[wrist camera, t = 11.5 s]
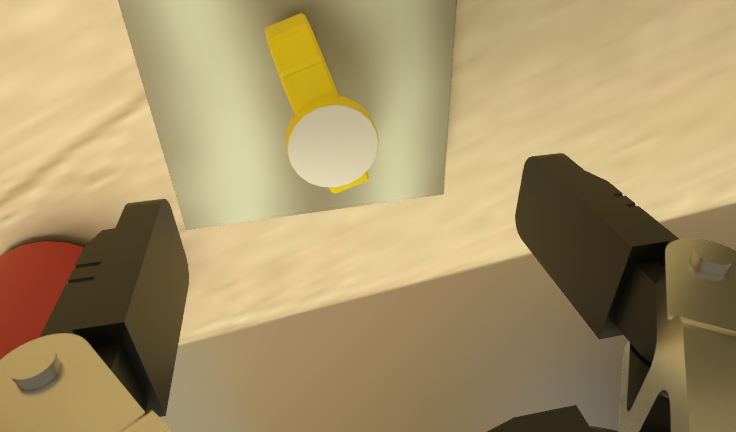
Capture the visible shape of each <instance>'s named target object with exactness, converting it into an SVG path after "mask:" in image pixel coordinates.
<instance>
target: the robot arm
mask: <svg viewBox="0 0 736 432" xmlns="http://www.w3.org/2000/svg"><path fill="white" fill-rule="evenodd" d="M515 220H516V227H517V231H518V234H519V236H520V238H521V239H522V241H523V242H524V243H525V244H526V246H527V247H528V248H529V250H530V251H531V252H532V253H533V255H534V256H535V257H536V258H537V260H538V261H539V262H540V264H541V265H542V266H543V268H544V269H545V270H546V271H547V273H548V274H549V275H550V277H551V278H552V279H553V280H554V282H555V283H556V284H557V286H558V287H559V288H560V289H561V291H562V292H563V293H564V295H565V296H566V297H567V298H568V300H569V301H570V302H571V303H572V305H573V306H574V307H575V309H576V310H577V311H578V312H579V314H580V315H581V316H582V318H583V319H584V320H585V321H586V323H587V324H588V325H589V327H590V328H591V329H592V331H593V332H594V333H595V334H596V336H597V337H598V338H599V339H603V338H608V337H614V336H619V335H624V336H625V337H626V338H627V339H628V342H627V345H626V347H625V349H624V353H623V369H622V383H621V399H620V415H619V426H618V431H615V430H611V429H606V428H599V427H593V426H589V425H588V423H587V422H586V420H585V419H584V417H583V416H582V414H581V412H580V411H579V409H578V408H577V406H576V405H574V406H569V407H564V408H559V409H554V410H549V411H545V412H540V413H534V414H529V415H525V416H520V417H515V418H512V419H511V420H509V421H507V422H505V423H503V424H501V425H499V426H497V427H495V428H493V429H491V430H490V431H488V432H736V251H735V250H733V249H731V248H729V247H726V246H724V245H721V244H718V243H715V242H712V241H708V240H702V239H693V238H685V239H678V238H677V237H676V236H675V235H674V234H672V233H671V232H670V231H669V230H667V229H666V228H665V227H664V226H663V225H661V224H660V223H659V222H658V221H656V220H655V219H654V218H653V217H651V216H650V215H649V214H648V213H646V212H645V211H644V210H643V209H641V208H640V207H639V206H635V203H634V202H633V201H632V200H630V199H629V198H628V197H627V196H623V195H622V192H620V191H619V190H618V189H617V188H615V187H614V186H613V185H612V184H610V183H609V182H608V181H606V180H604V179H602V178H600V177H598V176H595V175H593V174H591V173H589V172H587V171H584V170H583V169H582V168H581V167H580V166H578V165H577V164H576V163H575V162H574V161H572V160H571V159H570V158H569V157H568V156H566V155H565V154H563V153H558V154H549V155H541V156H532V157H529V158H528V159H527V160H526V162H525V165H524V169H523V174H522V180H521V186H520V191H519V197H518V203H517V208H516V215H515ZM75 267H76V268H75V269H73V270H72V272H71V274H70V276H69V278H68V284H66V285H65V287H64V289H63V291H62V293H61V295H60V297H59V299H58V301H57V303H56V305H55V307H54V309H53V311H52V313H51V315H50V317H49V319H48V321H47V323H46V325H45V327H44V329H43V331H42V333H41V335H40V337H39V338H37V339H34V340H32V341H29V342H27V343H25V344H23V345H21V346H19V347H18V348H16V349H14V350H13V351H11V352H10V353H8V354H7V355H6V356H4V357H3V358H2V359H1V360H0V432H172V431H171V430H170V429H169V428H168V427H167V425H166V424H165V423H164V422H163V421H162V420H161V418H160V417H161V416H166V410H167V405H168V399H169V393H170V388H171V382H172V376H173V371H174V364H175V359H176V353H177V348H178V342H179V337H180V331H181V325H182V320H183V314H184V308H185V302H186V297H187V291H188V285H189V272H188V264H187V259H186V255H185V252H184V249H183V245H182V242H181V239H180V236H179V232H178V229H177V226H176V222H175V219H174V216H173V213H172V209H171V207H170V204H169V202H168V201H167V200H166V199H160V200H151V201H143V202H134V203H128V204H126V205H125V207H124V210H123V212H122V214H121V217H120V219H119V221H118V224H117V226H116V228H115V229H109V230H102V231H101V232H100V233H99V234H98V235H97V236H96V237H95V238H94V239H92V240H91V241H90V242H89V243H88V244H87V245H86V246H85V247H84V248H83V250H82V252H81V254H80V256H79V258H78V260H77V262H76V264H75Z"/></svg>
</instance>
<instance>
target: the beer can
mask: <svg viewBox="0 0 736 432" xmlns="http://www.w3.org/2000/svg"><path fill="white" fill-rule="evenodd" d="M83 248H84V247H82V246H78V245H75V244H71V243H67V242H52V241H41V242H36V243H30V244H25V245H21V246H19V247H17V248H15V249H13V250H11V251H9V252H7V253H5V254H3V255H1V256H0V360H1V359H2V358H3V357H4V356H6V355H7V354H8V353H10V352H11V351H13V350H14V349H16V348H18V347H19V346H21V345H23V344H25V343H27V342H29V341H32V340H34V339H37V338H39V337H40V335H41V333H42V331H43V329H44V327H45V325H46V323H47V321H48V319H49V317H50V315H51V313H52V311H53V309H54V307H55V305H56V303H57V301H58V299H59V297H60V295H61V293H62V291H63V289H64V287H65V285H66V284H68V278H69V276H70V274H71V272H72V270H73V269H75V268H76V267H75V264H76V262H77V260H78V258H79V256H80V254H81V252H82V250H83Z"/></svg>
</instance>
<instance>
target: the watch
mask: <svg viewBox="0 0 736 432" xmlns="http://www.w3.org/2000/svg"><path fill="white" fill-rule="evenodd" d="M265 34H266V39H267V43H268V45H269V49H270V52H271V55H272V58H273V60H274V63H275V66H276V69H277V72H278V74H279V77H280V79H281V82H282V85H283V87H284V90H285V92H286V95H287V97H288V100H289V102H290V104H291V107H292V109H293V112H294V116H293V117H292V118H291V120H290V123H289V125H288V127H287V130H286V141H285V144H286V150H287V154H288V158H289V161H290V164H291V166H292V167H293V168H294V170H295V171H296V172H297V174H298V175H299V176H300V177H301V178H303V179H304V180H306V181H307V182H309V183H311V184H314V185H317V186H320V187H329V189H330V191H331V192H332V193H334V194H336V193H339V192H341V191H344V190H346V189H349V188H351V187H354V186H356V185H359V184H361V183H364V182H366V181H368V179H369V174H368V172H367V170H368V169H369V168H370V167H371V165H372V163H373V161H374V160H375V158H376V156H377V151H378V146H379V138H378V132H377V128H376V126H375V125H374V123H373V121H372V119H371V117H370V116H369V114H368V112H367V111H366V110H365V109H364V108H363V107H362V106H361V105H360V104H358V103H357V102H355V101H353V100H350V99H348V98H346V97H342V96H339V95H338V92H337V90H336V87H335V85H334V82H333V80H332V77H331V75H330V72H329V70H328V67H327V65H326V63H325V60H324V57H323V55H322V53H321V50H320V48H319V45H318V43H317V41H316V38H315V36H314V33H313V31H312V29H311V26H310V24H309V22H308V20H307V18H306V16H305V15H304V14H302V13H300V14H298V15H295V16H293V17H290V18H288V19H285V20H283V21H280V22H278V23H275V24H273V25H271V26H268V27H266V30H265Z"/></svg>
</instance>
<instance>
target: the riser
mask: <svg viewBox="0 0 736 432" xmlns="http://www.w3.org/2000/svg"><path fill="white" fill-rule="evenodd" d="M118 2H119V5H120V8H121V12H122V15H123V19H124V22H125V25H126V29H127V32H128V35H129V39H130V42H131V46H132V49H133V52H134V56H135V59H136V62H137V66H138V69H139V72H140V76H141V79H142V83H143V86H144V89H145V93H146V96H147V99H148V103H149V106H150V110H151V113H152V116H153V120H154V123H155V126H156V130H157V133H158V137H159V140H160V143H161V147H162V150H163V153H164V157H165V160H166V163H167V167H168V170H169V174H170V177H171V180H172V184H173V187H174V190H175V194H176V197H177V201H178V204H179V207H180V211H181V214H182V217H183V221H184V224H185V227H186V230H190V229H197V228H204V227H211V226H218V225H226V224H233V223H240V222H247V221H254V220H262V219H269V218H276V217H283V216H291V215H298V214H305V213H312V212H319V211H327V210H334V209H341V208H348V207H355V206H363V205H370V204H377V203H384V202H391V201H399V200H406V199H413V198H420V197H428V196H435V195H442V194H443V193H444V179H445V164H446V150H447V135H448V120H449V106H450V91H451V77H452V62H453V48H454V33H455V19H456V4H457V0H118ZM300 13H302V14H304V15H305V16H306V18H307V20H308V22H309V24H310V26H311V29H312V31H313V33H314V36H315V38H316V41H317V43H318V45H319V48H320V50H321V53H322V55H323V57H324V60H325V63H326V65H327V67H328V70H329V72H330V75H331V77H332V80H333V82H334V85H335V87H336V90H337V92H338V95H339V96H342V97H346V98H348V99H350V100H353V101H355V102H357V103H358V104H360V105H361V106H362V107H363V108H364V109H365V110H366V111H367V112H368V114H369V116H370V117H371V119H372V121H373V123H374V125H375V126H376V128H377V132H378V138H379V146H378V151H377V156H376V158H375V160H374V161H373V163H372V165H371V167H370V168H369V169H368V170H367V172H368V174H369V179H368V181H366V182H364V183H361V184H359V185H356V186H354V187H351V188H349V189H346V190H344V191H341V192H339V193H336V194H334V193H332V192H331V191H330V189H329V187H320V186H317V185H314V184H311V183H309V182H307V181H306V180H304V179H303V178H301V177H300V176H299V175H298V174H297V172H296V171H295V170H294V168H293V167H292V166H291V164H290V161H289V158H288V154H287V150H286V144H285V141H286V130H287V127H288V125H289V123H290V120H291V118H292V117H293V116H294V112H293V109H292V107H291V104H290V102H289V100H288V97H287V95H286V92H285V90H284V87H283V85H282V82H281V79H280V77H279V74H278V72H277V69H276V66H275V63H274V60H273V58H272V55H271V52H270V49H269V45H268V43H267V39H266V34H265V30H266V27H268V26H271V25H273V24H275V23H278V22H280V21H283V20H285V19H288V18H290V17H293V16H295V15H298V14H300Z"/></svg>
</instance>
